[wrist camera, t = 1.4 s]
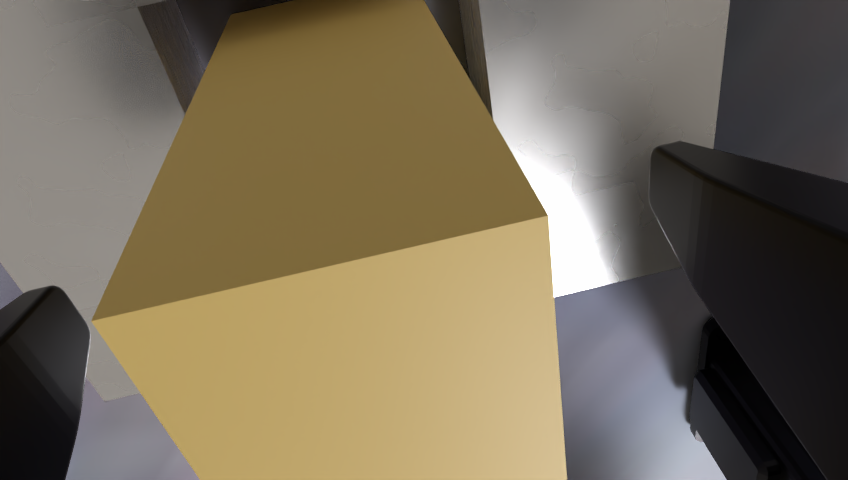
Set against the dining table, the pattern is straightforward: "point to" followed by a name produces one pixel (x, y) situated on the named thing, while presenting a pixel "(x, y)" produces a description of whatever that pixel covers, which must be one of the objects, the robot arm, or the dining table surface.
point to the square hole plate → (488, 72)
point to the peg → (342, 264)
